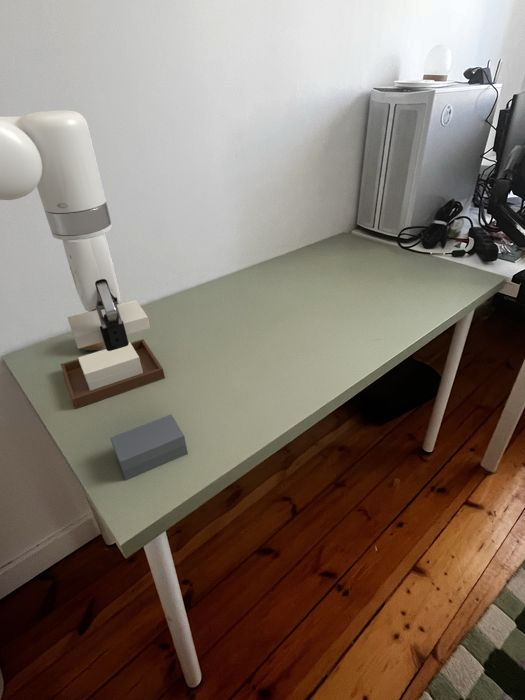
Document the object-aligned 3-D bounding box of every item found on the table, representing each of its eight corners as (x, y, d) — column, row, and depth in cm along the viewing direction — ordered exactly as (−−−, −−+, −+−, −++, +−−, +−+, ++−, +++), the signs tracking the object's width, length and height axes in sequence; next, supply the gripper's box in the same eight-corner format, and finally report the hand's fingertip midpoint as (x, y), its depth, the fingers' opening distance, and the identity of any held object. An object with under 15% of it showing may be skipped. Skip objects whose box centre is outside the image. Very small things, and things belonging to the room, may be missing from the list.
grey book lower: (125, 480, 65) (122, 471, 64) (116, 455, 69) (113, 446, 68) (187, 453, 69) (186, 444, 68) (175, 431, 73) (173, 423, 72)
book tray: (75, 409, 79) (71, 399, 78) (63, 373, 89) (60, 364, 88) (165, 378, 86) (163, 368, 85) (145, 347, 96) (143, 338, 94)
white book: (78, 348, 61) (74, 336, 60) (71, 328, 66) (67, 317, 65) (150, 328, 65) (147, 316, 64) (138, 310, 70) (135, 299, 69)
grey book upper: (122, 471, 64) (119, 462, 63) (113, 446, 68) (110, 437, 67) (186, 444, 68) (184, 435, 67) (173, 423, 72) (171, 414, 71)
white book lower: (90, 391, 83) (87, 382, 82) (83, 373, 88) (80, 365, 86) (143, 373, 87) (141, 365, 86) (133, 357, 92) (131, 349, 91)
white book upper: (87, 382, 82) (84, 374, 80) (80, 365, 86) (77, 357, 85) (141, 365, 86) (139, 356, 85) (131, 349, 91) (129, 341, 89)
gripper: (42, 209, 61) (77, 319, 71) (57, 244, 48) (98, 373, 58) (96, 200, 64) (123, 307, 74) (124, 231, 51) (152, 356, 61)
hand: (112, 335), depth 66 cm, fingers closed on white book, 6 cm apart
